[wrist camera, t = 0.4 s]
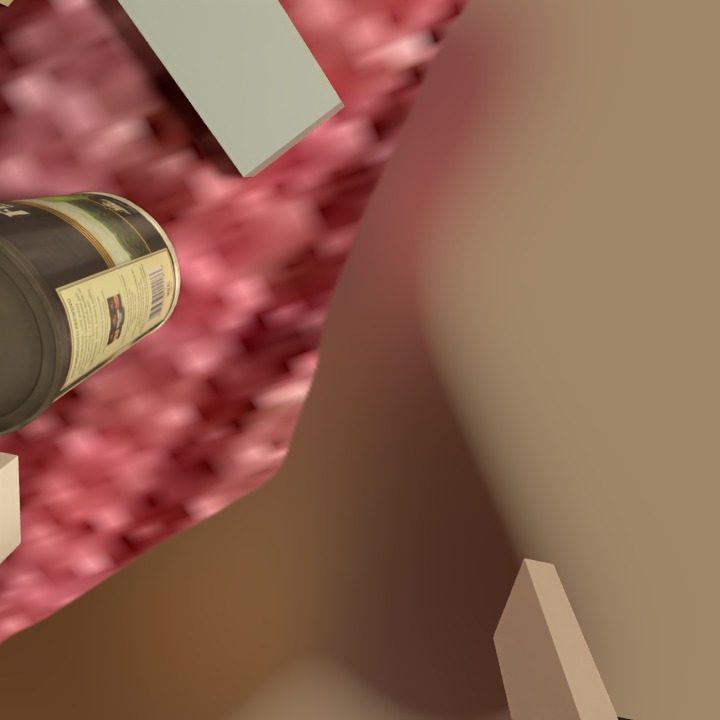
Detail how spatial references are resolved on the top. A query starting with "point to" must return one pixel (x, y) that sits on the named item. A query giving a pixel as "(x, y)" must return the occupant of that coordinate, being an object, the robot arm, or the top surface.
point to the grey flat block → (240, 72)
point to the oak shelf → (6, 2)
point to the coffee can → (75, 293)
